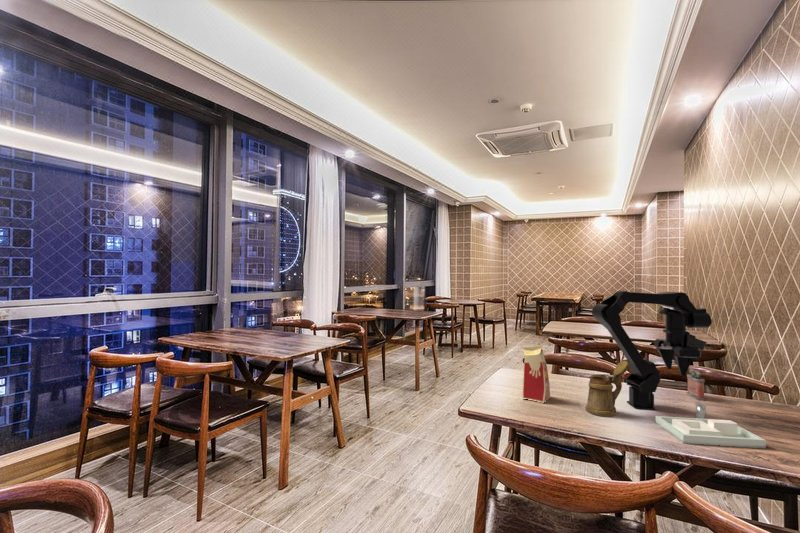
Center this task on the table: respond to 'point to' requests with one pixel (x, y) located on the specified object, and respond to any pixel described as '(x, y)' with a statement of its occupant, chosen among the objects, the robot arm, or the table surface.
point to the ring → (706, 427)
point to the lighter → (695, 385)
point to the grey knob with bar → (700, 410)
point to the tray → (741, 440)
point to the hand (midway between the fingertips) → (675, 372)
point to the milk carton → (535, 375)
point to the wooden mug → (605, 392)
